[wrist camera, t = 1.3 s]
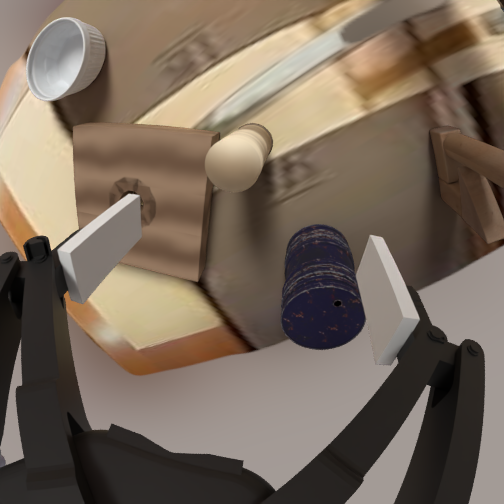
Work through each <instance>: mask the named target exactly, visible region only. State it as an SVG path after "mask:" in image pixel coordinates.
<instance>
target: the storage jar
mask: <svg viewBox="0 0 504 504" xmlns="http://www.w3.org/2000/svg"><path fill="white" fill-rule="evenodd" d="M285 278H286V281H285V284H284V287H283V291H282V304H281V307H282V313H281V326H282V329H283V331H284V333H285V335H286V336H287V337H288V338H289V339H290V340H292V341H293V342H294V343H296V344H298V345H300V346H302V347H305V348H309V349H316V350H323V349H324V350H325V349H332V348H336V347H339V346H342V345H344V344H346V343H348V342H350V341H351V340H353V339H354V338H355V337H356V336H357V335H358V334H359V333H360V332H361V330H362V329H363V327H364V325H365V322H366V316H365V312H364V307H363V303H362V299H361V295H360V291H359V287H358V283H357V279H356V274H355V272H354V261H353V257H352V253H351V250H350V248H349V246H348V243H347V240H346V239H345V237H344V236H343V234H342V233H341V232H339V231H338V230H337V229H335V228H333V227H331V226H328V225H321V224H316V225H310V226H307V227H304V228H302V229H300V230H299V231H298V232H296V233H295V234H294V235H293V236H292V238H291V239H290V241H289V243H288V246H287V252H286V257H285Z"/></svg>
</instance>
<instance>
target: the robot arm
mask: <svg viewBox="0 0 504 504" xmlns="http://www.w3.org/2000/svg"><path fill="white" fill-rule="evenodd" d="M497 1H498V3H499V4H500V6H501V9H502V10H503V12H504V0H497ZM141 237H142V230H141V210H140V195H135V194H128V195H126V196H125V197H124V198H122V199H121V200H120V201H118V202H117V203H115V204H114V205H113V206H111V207H110V208H109V209H107V210H106V211H105V212H103V213H102V214H101V215H100V216H98V217H97V218H96V219H94V220H93V221H92V222H91V223H89V224H88V225H87V226H85V227H83V228H81V229H79V230H77V231H75V232H74V233H73V234H71V235H70V236H69V237H68V238H66V239H65V240H64V241H63V242H62V243H60V244H59V245H58V246H57V247H56V248H55V249H53V250H52V251H51V248H50V244H49V239H48V237H46V236H36V237H33V238H31V239H29V240H27V241H26V242H25V244H24V245H23V247H24V251H25V254H26V258H27V261H20V260H19V257H18V254H17V253H16V252H6V253H4V254H2V256H0V445H1V441H2V436H3V431H4V425H5V417H6V409H7V402H8V395H9V390H10V384H11V379H12V374H13V369H14V364H15V360H16V356H17V352H18V348H19V344H20V340H21V363H22V386H18V387H17V388H16V404H17V414H18V423H19V430H20V437H21V442H22V449H23V454H24V458H23V459H21V460H18V461H16V462H13V463H11V464H8V465H6V466H5V459H4V457H3V456H2V455H1V450H0V504H345V502H346V501H347V500H348V499H349V498H350V497H351V496H352V495H353V494H354V493H355V492H356V490H357V489H358V488H359V487H360V485H361V484H362V482H363V481H364V480H363V477H364V476H365V474H366V473H367V472H368V471H369V469H370V468H371V467H372V466H373V464H374V463H375V462H376V460H377V459H378V458H379V457H380V455H381V454H382V453H383V451H384V450H385V449H386V447H387V446H388V445H389V443H390V442H391V440H392V439H393V438H394V436H395V435H396V433H397V432H398V430H399V429H400V427H401V426H402V424H403V423H404V421H405V420H406V418H407V417H408V415H409V413H410V412H411V410H412V408H413V407H414V405H415V404H416V402H417V400H418V399H419V397H420V395H421V394H422V392H423V390H424V388H425V387H426V385H429V386H431V388H430V393H429V397H428V402H427V406H426V410H425V415H424V419H423V422H422V426H421V430H420V433H419V437H418V440H417V443H416V446H415V450H414V453H413V456H412V459H411V462H410V465H409V467H408V470H407V473H406V476H405V478H404V481H403V483H402V486H401V488H400V491H399V493H398V495H397V498H396V500H395V503H394V504H468V503H469V500H470V496H471V492H472V487H473V483H474V478H475V474H476V468H477V463H478V457H479V450H480V443H481V435H482V426H483V413H484V395H485V360H484V352H483V349H482V348H481V346H480V345H479V344H478V343H477V342H475V341H473V340H470V339H465V340H464V341H463V342H462V343H461V345H460V346H457V345H455V344H452V343H449V342H447V341H448V340H447V337H446V335H445V334H444V332H443V331H441V330H440V329H439V328H438V327H436V326H433V325H432V324H431V322H430V319H429V317H428V315H427V312H426V310H425V308H424V306H423V303H422V302H421V299H420V297H419V295H418V293H417V292H416V291H415V290H414V289H413V287H412V286H406V285H405V283H404V281H403V279H402V276H401V274H400V272H399V270H398V268H397V266H396V264H395V262H394V259H393V257H392V255H391V253H390V251H389V249H388V247H387V245H386V243H385V241H384V239H383V238H382V237H378V236H373V235H370V237H369V240H368V243H367V246H366V249H365V251H364V254H363V257H362V260H361V263H360V265H359V268H358V271H357V274H356V279H357V283H358V287H359V291H360V295H361V299H362V303H363V307H364V312H365V316H366V320H367V325H368V330H369V334H370V339H371V344H372V349H373V354H374V360H375V364H379V365H391V364H392V363H393V361H394V360H395V358H396V357H397V359H398V364H397V366H396V367H395V369H394V370H393V371H392V373H391V374H390V375H389V377H388V378H387V379H386V380H385V382H384V383H383V384H382V386H381V387H380V388H379V389H378V391H377V392H376V393H375V394H374V396H373V397H372V398H371V399H370V400H369V402H368V403H367V404H366V405H365V406H364V408H363V409H362V410H361V411H360V412H359V413H358V414H357V415H356V417H355V418H354V419H353V420H352V421H351V422H350V423H349V424H348V425H347V426H346V427H345V429H344V430H343V431H342V432H341V433H340V434H339V435H338V436H337V437H336V438H335V439H334V440H333V441H332V442H331V443H330V444H329V445H328V446H327V447H326V448H325V449H324V450H323V451H322V452H321V453H319V454H318V455H317V456H316V457H315V458H314V459H313V460H312V461H311V462H310V463H309V464H308V465H307V466H305V467H304V468H303V469H302V470H301V471H300V472H299V473H298V474H297V475H295V476H294V477H293V478H292V479H291V480H289V481H288V482H287V483H286V484H285V485H283V486H282V487H281V488H280V489H278V490H277V491H275V489H274V488H273V487H272V486H271V485H270V484H269V483H268V482H267V481H265V480H264V479H263V478H262V477H260V476H259V475H257V474H255V473H254V472H252V471H250V470H247V469H245V468H243V467H242V466H243V461H242V460H236V459H231V458H226V457H221V456H216V455H211V454H185V453H172V452H169V451H167V450H166V449H164V448H162V447H161V446H159V445H157V444H155V443H154V442H152V441H150V440H149V439H147V438H146V437H144V436H142V435H141V434H138V433H135V432H132V431H130V430H127V429H124V428H122V427H119V426H117V425H114V424H111V426H110V429H109V430H92V429H91V427H90V425H89V423H88V420H87V418H86V414H85V411H84V407H83V403H82V399H81V395H80V391H79V386H78V382H77V377H76V372H75V367H74V361H73V356H72V350H71V344H70V337H69V330H68V322H67V312H66V302H65V298H64V294H65V293H66V292H67V291H68V292H69V295H70V299H71V300H72V301H75V302H78V303H81V304H84V302H85V301H86V300H87V299H88V298H89V296H90V295H91V294H92V293H93V292H94V290H95V289H96V288H97V287H98V286H99V284H100V283H101V282H102V281H103V280H104V279H105V277H106V276H107V275H108V274H109V273H110V272H111V270H112V269H113V268H114V267H115V266H116V265H117V264H118V263H119V261H120V260H121V259H122V258H123V257H124V256H125V255H126V254H127V253H128V251H129V250H130V249H131V248H132V247H133V246H134V245H135V244H136V243H137V242H138V241H139V239H140V238H141ZM8 297H9V298H8Z"/></svg>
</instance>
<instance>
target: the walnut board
mask: <svg viewBox="0 0 504 504" xmlns="http://www.w3.org/2000/svg"><path fill="white" fill-rule="evenodd" d="M219 135H220V132H213V131H206V130H198V129H189V128H180V127H170V126H158V125H145V124H128V123H97V122H88V123H84V124H81V125H77V126H73V163H74V182H75V196H76V207H77V216H78V224H79V229H81V228H83V227H85V226H87V225H88V224H89V223H91V222H92V221H93V220H94V219H96V218H97V217H98V216H100V215H101V214H102V213H103V212H105V211H106V210H107V209H109V208H110V207H111V206H113V205H114V204H115V203H117V202H118V201H120V200H121V199H122V198H124V197H125V196H126V195H128V194H133V191H135V192H136V193H137V194H138V195H140V197H141V199H142V201H143V206H141V205H140V210H141V230H142V237H141V238H140V239H139V241H138V242H137V243H136V244H135V245H134V246H133V247H132V248H131V249H130V250H129V251H128V253H127V254H126V255H125V256H124V257H123V258H122V259H121V260H120V261H119V262H120V263H124V264H127V265H131V266H135V267H139V268H143V269H147V270H151V271H155V272H159V273H163V274H167V275H171V276H175V277H179V278H183V279H188V280H192V281H196V282H198V281H199V279H200V277H201V274H202V272H203V270H204V268H205V259H206V248H207V237H208V227H209V218H210V208H211V199H212V190H213V183H212V182H211V181H210V179H209V178H208V176H207V173H206V170H205V158H206V155H207V153H208V151H209V149H210V148H211V147H212V146H213V145H214V144H215V143H217V142H218V141H219Z"/></svg>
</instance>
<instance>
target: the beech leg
mask: <svg viewBox="0 0 504 504" xmlns="http://www.w3.org/2000/svg"><path fill="white" fill-rule="evenodd" d="M272 147H273V139H272V136H271V134H270V132H269V131H268V130H267V129H266V128H265V127H264V126H262V125H259V124H255V123H250V124H246V125H243V126H241V127H240V128H239V129H238V130H236V131H235V132H233V133H231V134H230V135H228V136H226V137H225V138H223V139H222V140H220V141H218V142H217V143H215V144H214V145H213V146H212V147H211V148H210V149H209V151H208V153H207V155H206V158H205V170H206V173H207V176H208V178H209V179H210V181H211V182H212V183H213V184H214V185H215V186H216V187H218V188H219V189H221V190H224V191H227V192H241V191H244V190H246V189H248V188H250V187H251V186H252V185H253V184H254V183H255V182H256V180H257V179H258V177H259V175H260V172H261V170H262V168H263V166H264V163H265V161H266V159H267V157H268V155H269V154H270V152H271V150H272Z"/></svg>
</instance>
